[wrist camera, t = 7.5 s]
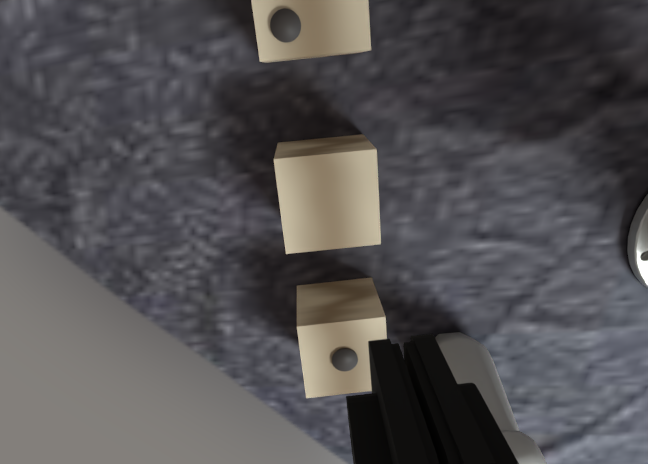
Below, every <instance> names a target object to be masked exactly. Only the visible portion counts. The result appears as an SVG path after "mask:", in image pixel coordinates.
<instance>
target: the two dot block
mask: <svg viewBox="0 0 648 464" xmlns="http://www.w3.org/2000/svg"><path fill="white" fill-rule="evenodd" d="M251 2H252V9H253V16H254V24H255V31H256V38H257V45H258V52H259V59H260V62H266V63H269V62H278V61H288V60H297V59H307V58H317V57H326V56H336V55H345V54H355V53H361V52H365V51H370V50H371V39H370V21H369V3H368V0H251Z"/></svg>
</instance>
